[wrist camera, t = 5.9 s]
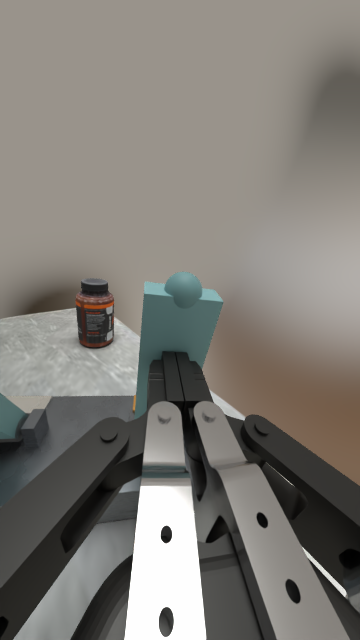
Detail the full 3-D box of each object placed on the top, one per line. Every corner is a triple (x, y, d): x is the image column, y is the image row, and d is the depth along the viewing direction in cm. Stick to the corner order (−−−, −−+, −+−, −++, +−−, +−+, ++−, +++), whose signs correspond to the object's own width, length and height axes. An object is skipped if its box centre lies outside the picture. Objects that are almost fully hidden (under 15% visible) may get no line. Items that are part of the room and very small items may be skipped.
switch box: (-139, 557, 11) (-216, 505, 8) (-24, 427, 18) (-46, 378, 15) (213, 506, 15) (233, 463, 13) (192, 419, 22) (203, 380, 20)
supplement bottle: (119, 342, 35) (121, 284, 30) (87, 353, 31) (83, 287, 26) (104, 329, 38) (104, 276, 34) (73, 337, 34) (68, 277, 29)
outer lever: (132, 441, 15) (145, 273, 8) (134, 417, 16) (146, 262, 10) (180, 438, 16) (231, 284, 9) (177, 415, 17) (217, 272, 10)
